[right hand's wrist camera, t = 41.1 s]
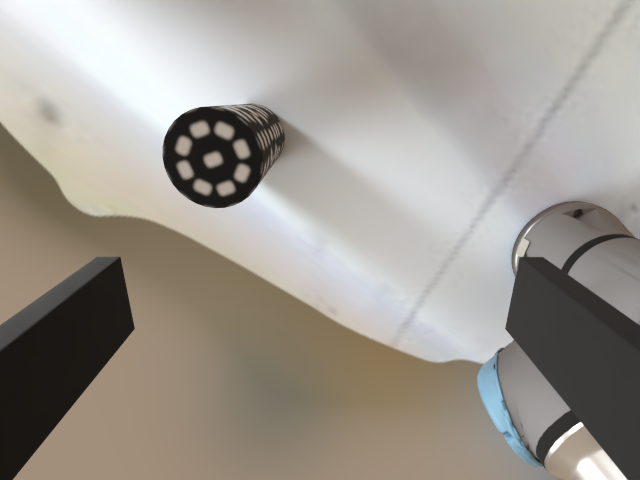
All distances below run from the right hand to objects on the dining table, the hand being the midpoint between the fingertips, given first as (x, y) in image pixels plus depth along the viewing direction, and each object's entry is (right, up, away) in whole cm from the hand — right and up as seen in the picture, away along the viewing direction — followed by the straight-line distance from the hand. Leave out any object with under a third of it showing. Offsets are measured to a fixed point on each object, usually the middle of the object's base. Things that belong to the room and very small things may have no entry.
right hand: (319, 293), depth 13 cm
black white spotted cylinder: (-9, +12, +28) cm, 32 cm away
